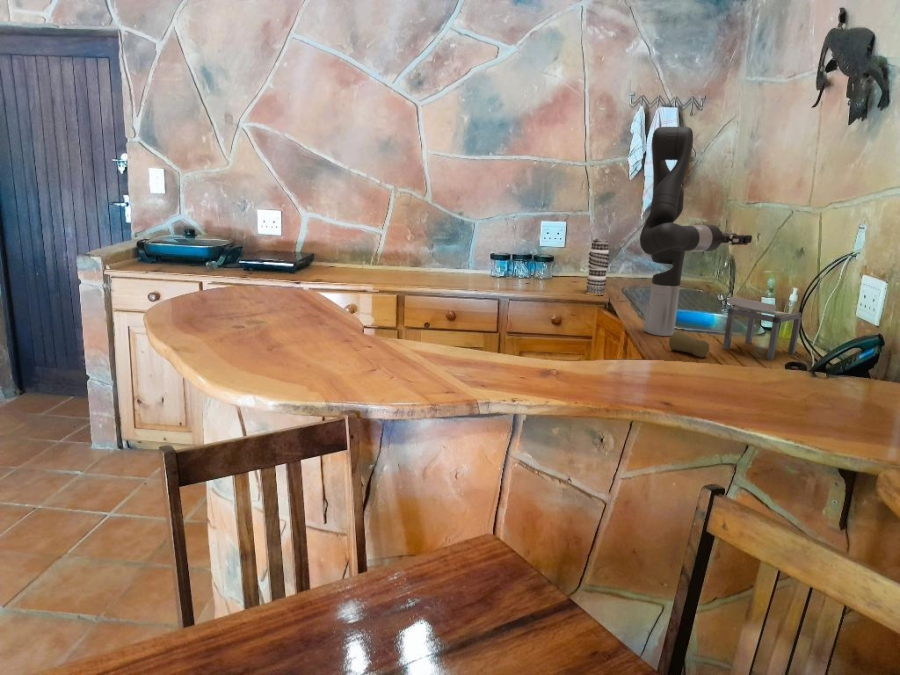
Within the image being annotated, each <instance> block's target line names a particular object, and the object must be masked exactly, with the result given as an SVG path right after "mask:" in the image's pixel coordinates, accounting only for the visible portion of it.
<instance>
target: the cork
mask: <svg viewBox="0 0 900 675" xmlns="http://www.w3.org/2000/svg"><path fill="white" fill-rule="evenodd" d="M668 345H669V348H670V350H672V351H673V350H674V351H676V352H677V351H678V352H683V353H687V354H693V355H694V356H695V357H697V356H699V357H698V358H704V356H705V357H706V356H707V355H708V353H709V351H710V344H709V343H708V341H706V340H697V339H695V338H693V337H692V336H689V335H687V334H685V333H683V332H681V331H679V330H678V331H677V330H676V331H674V333H673V334H672V336H670V338H669V341H668Z"/></svg>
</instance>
